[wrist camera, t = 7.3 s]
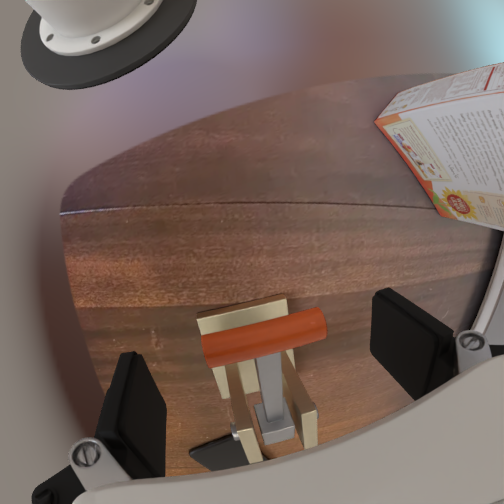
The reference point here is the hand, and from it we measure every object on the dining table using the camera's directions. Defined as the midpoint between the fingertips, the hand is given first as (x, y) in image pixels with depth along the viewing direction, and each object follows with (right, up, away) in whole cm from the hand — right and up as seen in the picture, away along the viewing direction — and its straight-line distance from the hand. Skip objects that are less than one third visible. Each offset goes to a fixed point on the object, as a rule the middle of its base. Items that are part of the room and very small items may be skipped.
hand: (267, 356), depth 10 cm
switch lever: (0, -3, +5) cm, 6 cm away
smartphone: (-2, -26, +21) cm, 34 cm away
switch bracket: (-1, -5, +16) cm, 17 cm away
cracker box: (+18, +14, +15) cm, 27 cm away
